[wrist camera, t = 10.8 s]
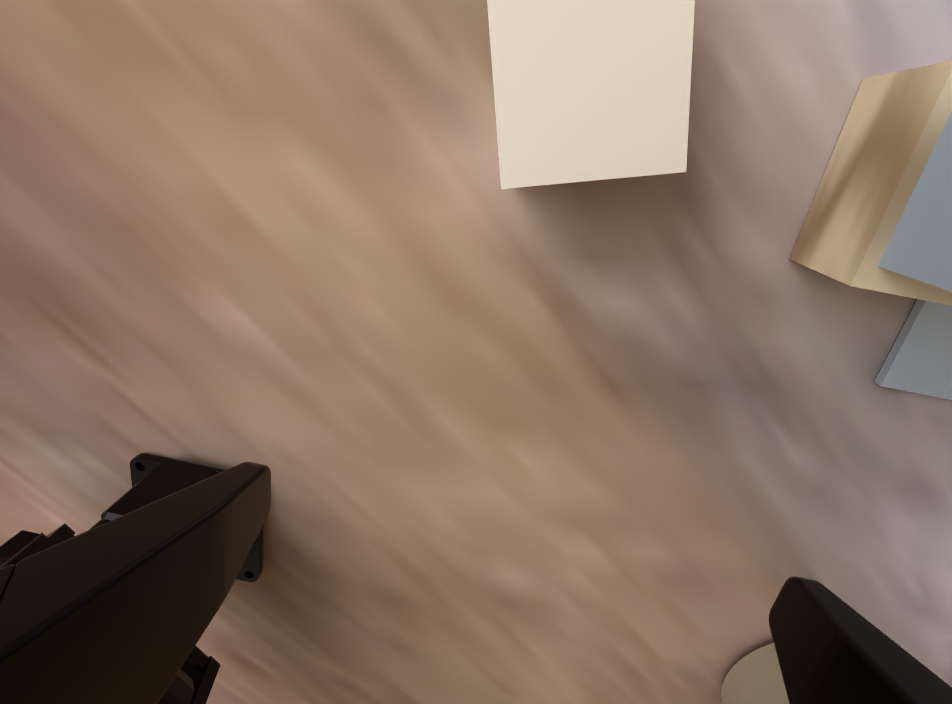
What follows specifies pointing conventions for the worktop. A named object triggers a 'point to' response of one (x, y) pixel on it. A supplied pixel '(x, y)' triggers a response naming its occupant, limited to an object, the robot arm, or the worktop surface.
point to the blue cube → (927, 222)
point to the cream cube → (590, 88)
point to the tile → (922, 353)
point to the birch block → (876, 180)
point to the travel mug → (755, 679)
